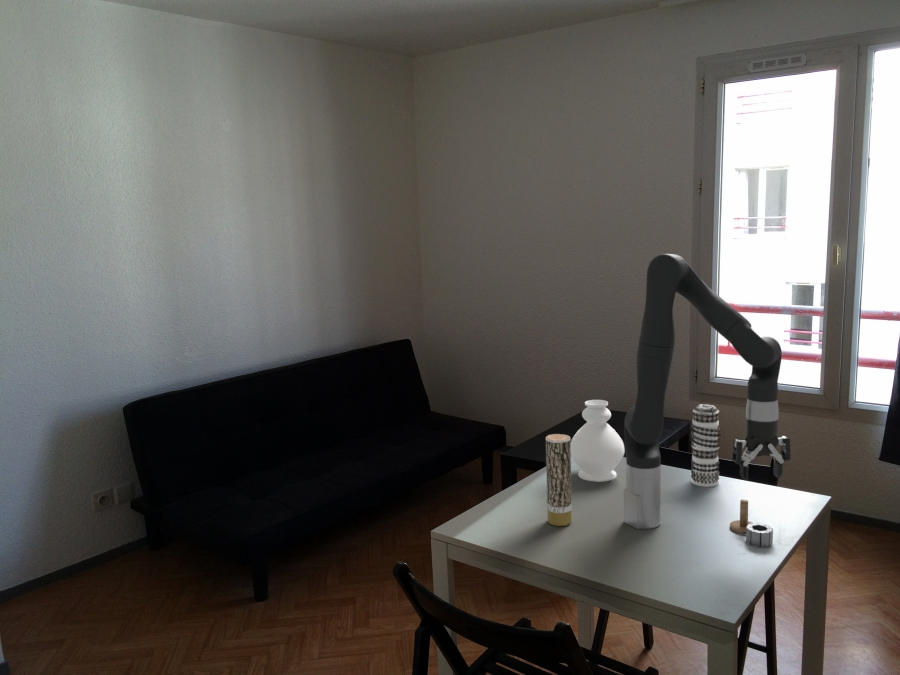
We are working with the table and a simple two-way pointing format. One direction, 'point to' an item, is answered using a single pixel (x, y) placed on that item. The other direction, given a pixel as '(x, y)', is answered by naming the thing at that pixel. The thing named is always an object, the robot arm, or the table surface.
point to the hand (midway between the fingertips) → (760, 477)
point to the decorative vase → (597, 444)
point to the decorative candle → (705, 445)
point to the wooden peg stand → (741, 519)
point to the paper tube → (558, 479)
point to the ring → (759, 535)
